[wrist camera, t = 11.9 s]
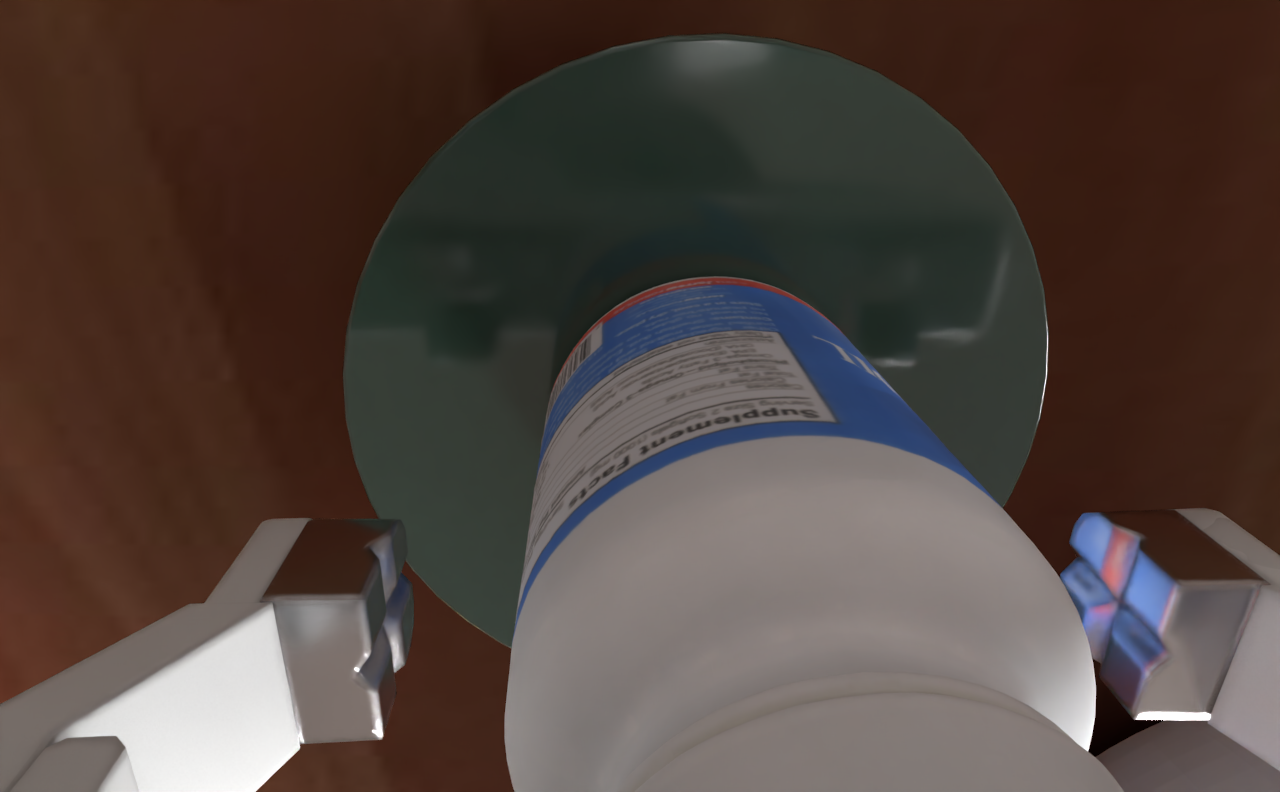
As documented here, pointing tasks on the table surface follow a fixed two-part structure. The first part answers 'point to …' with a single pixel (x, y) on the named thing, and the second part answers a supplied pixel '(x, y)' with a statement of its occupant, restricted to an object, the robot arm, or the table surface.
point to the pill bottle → (776, 577)
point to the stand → (673, 272)
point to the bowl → (1187, 761)
